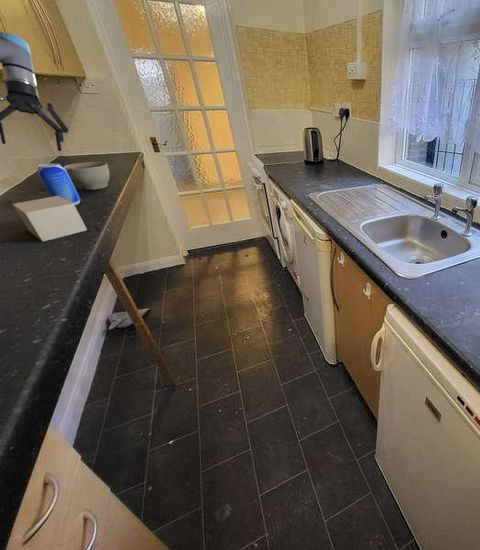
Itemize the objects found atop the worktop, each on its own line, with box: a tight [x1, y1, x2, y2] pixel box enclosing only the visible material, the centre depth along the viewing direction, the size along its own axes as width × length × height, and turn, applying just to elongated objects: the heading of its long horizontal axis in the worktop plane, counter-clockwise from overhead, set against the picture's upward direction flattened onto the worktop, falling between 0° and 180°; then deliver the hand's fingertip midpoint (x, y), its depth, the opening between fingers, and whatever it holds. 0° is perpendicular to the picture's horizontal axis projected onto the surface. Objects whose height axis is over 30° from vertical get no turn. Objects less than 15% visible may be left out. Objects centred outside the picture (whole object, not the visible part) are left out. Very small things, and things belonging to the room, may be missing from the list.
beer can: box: [36, 163, 81, 206], centre depth 121 cm, size 8×8×16 cm
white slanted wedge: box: [12, 196, 88, 242], centre depth 99 cm, size 15×12×10 cm
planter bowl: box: [63, 161, 110, 191], centre depth 145 cm, size 16×16×11 cm
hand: (33, 146), depth 107 cm, fingers open, 13 cm apart
